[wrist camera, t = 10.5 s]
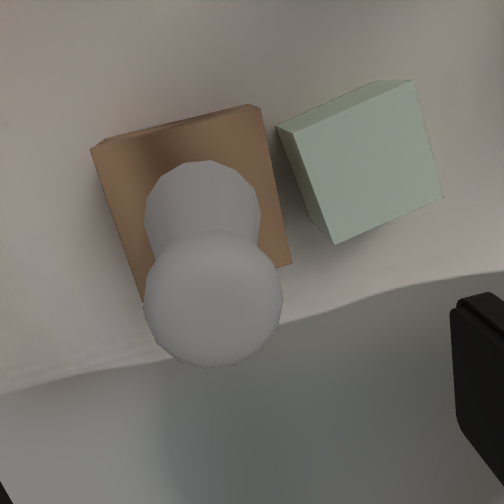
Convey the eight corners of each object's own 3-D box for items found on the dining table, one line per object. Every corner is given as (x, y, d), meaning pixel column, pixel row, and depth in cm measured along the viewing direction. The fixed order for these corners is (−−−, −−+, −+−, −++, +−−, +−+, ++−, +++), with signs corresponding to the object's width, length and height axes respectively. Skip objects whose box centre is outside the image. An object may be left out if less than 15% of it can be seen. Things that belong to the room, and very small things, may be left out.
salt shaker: (251, 149, 25) (315, 212, 13) (257, 250, 27) (317, 387, 15) (139, 158, 24) (96, 233, 12) (154, 261, 26) (129, 413, 14)
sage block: (376, 80, 29) (413, 79, 25) (405, 180, 32) (443, 197, 27) (275, 125, 30) (292, 133, 25) (312, 222, 32) (334, 245, 27)
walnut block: (247, 104, 29) (260, 108, 24) (276, 237, 32) (292, 263, 27) (104, 138, 28) (89, 149, 24) (148, 270, 32) (142, 303, 27)
